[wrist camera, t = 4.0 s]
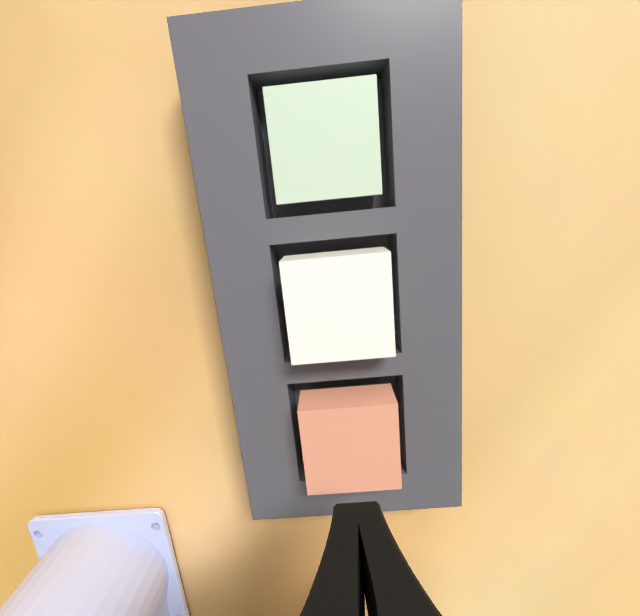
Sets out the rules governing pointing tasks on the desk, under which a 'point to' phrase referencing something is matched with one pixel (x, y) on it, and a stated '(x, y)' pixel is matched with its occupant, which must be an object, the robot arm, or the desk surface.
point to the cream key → (339, 305)
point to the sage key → (324, 139)
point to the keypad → (333, 227)
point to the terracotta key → (350, 439)
